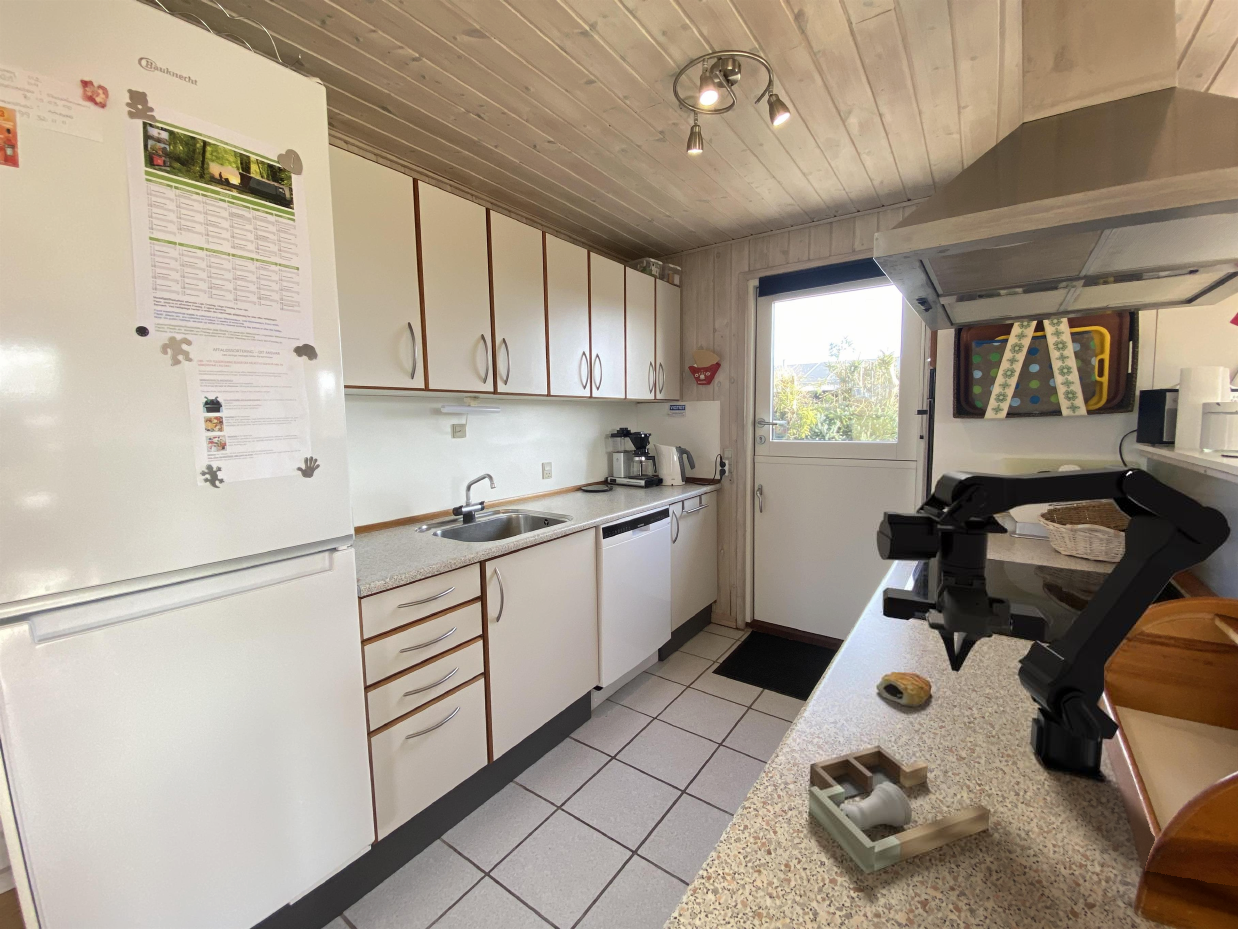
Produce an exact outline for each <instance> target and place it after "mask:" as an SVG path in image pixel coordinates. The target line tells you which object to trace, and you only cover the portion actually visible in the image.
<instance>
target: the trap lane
mask: <svg viewBox="0 0 1238 929" xmlns="http://www.w3.org/2000/svg"><path fill="white" fill-rule="evenodd" d="M928 767H929V766H928V764H926V763H925V762H923V760H918V761H915V762H912V763H909V764H904V763H903V762H901V760H899V759H898V758H896V757H895V756H894V755H893V754H891V753H890V752H889V751H888V750H886V749H885V748H883V747H882V746H880V744H879V745H875V746H871V747H867V748H863V749H860V750H857V751H854V752H853V751H852V752H849V753H847V754H842V755H839V756H835V757H832V758H828V759H824V760H821V761H816V762H814V763H810V767H809V780H810V782H811V783H812V784H813V785H814V786H811V787H809V789H808V791H809V792H808V812H809V813H810V814H811V816H813V817H814V818H815V820H816V821H817V822H818V823H819V824H820V825H821V826H822V827H823V828H824V830H825V831H827V833H829V835H830V836H831V837H832V838H833V839H834V840H835V842H836V843H838V845H839V846H840V847H841V848H842V849H843V850H844V851H845V853H846V854H848V856H849V857H851V859H852V860H853V861H854V862H855V863H856V865H858V867H859V868H860V869H861V870H862V871H863V872H864V873H865V874H866V875H868V874H871V873H874V872H876V871H879V870H881V869H883V868H886V867H889V866H891V865H895V864H897V863H899V862H902V861H905V860H908V859H910V858H913V857H916V856H918V855H921V854H924V853H926V852H929V851H931V850H933V849H937V848H939V847H942V846H944V845H948V844H949V843H952V842H955V841H958V840H961V839H963V838H966V837H969V836H972V835H974V834H977V833H980V832H982V831H984V830H987V829H989V824H990V810H989V809H988V808H987V807H986V806H984V805H983V804H978V805H976V806H973V807H970V808H967V809H964V810H961V811H958V812H955V813H953V814H950V815H947V816H944V817H941V818H939V819H936V820H933V821H930V822H927V823H925V824H921V825H919V826H916V827H913V828H910V829H908V830H904V831H902V832H899V833H896V834H894V835H890V836H888V837H885V838H883V839H879V840H876V841H873V842H872V840H871V839H870V838H869V837H868V836H867V835H866V833H864V832H863V831H862V830H860V829H859V828H858V827H857V826H856V825H855V824H854V823H853V822H852V821H851V820H850V819H849V818H848V817H847V816H846V815H845V814H844V813H843V812H842V811H841V810H840V809H839V807H840V805H841V804H843V803H844V804H846V803H845V800H846V799H849V798H853V797H855V796H858V795H863V794H865V793H870V792H871V793H872V792H873V791H874V789H875V787H876V786H877V785H880V784H882V783H883V782H887V781H888V782H890V783H892V784H894V785H895V784H897V783H900V784H901V785H903V786H904V787H905V788H910V787H913V786H917V785H919V784H922V783H926V782H927V781H928Z"/></svg>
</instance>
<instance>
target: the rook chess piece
mask: <svg viewBox="0 0 1238 929" xmlns="http://www.w3.org/2000/svg"><path fill="white" fill-rule="evenodd" d="M839 809H840V810H841V811H842V812H843V813H844V814H845V815H846V816H847V817H848V818H849V819H850V820H851V821H852V822H853V823H854V824H855V825H856V826H857V827H858V828H859V829H860V830H861V831H862V830H863V831H864V830H865V831H869V830H870V827H874V826H877V825H878V826H879V825H882V824H883V825H884V824H885V825H887V826H892V827H894V828H895V827H897V828H898V827H902V826H903V825H904V826H908V825H909V824H910V823H911V822H912V817H913V811H912V807H911V804H910V802H909V800H908V797H907V795H905V793H904V791H903V790H902V789H901V788H899V786H898V785H896V784H895V783H894V784H892V783H890V782H888V781H887V782H883V783H882V784H880V785H877V786H876V787H875V789H874V790H872V791H871V794H870V796H868V797H867V798H865V799H863V800H862V801H859V802H857V801H852V803H851V805H849V804H846V803H845V804H844V803H843V804H841V805H840V807H839Z"/></svg>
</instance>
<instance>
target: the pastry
mask: <svg viewBox="0 0 1238 929" xmlns="http://www.w3.org/2000/svg"><path fill="white" fill-rule="evenodd" d="M876 690H877V691H878V693H880V694H879V695H880V696H882V697H883V696H884V697H883V698H885V697H886V699H887V698H888V700H890V701H893V700H894V701H893V702H895V701H896V703H897V702H898V703H897V704H899V703H900V705H902V706H906V707H911V708H914V707H919V706H920V705H923V704H924V703H925V702H926V701H927V699H928V698H929V696H930V695H931V691H932V684H931V682H930V681H929V680H928V679H926V678H924V677H923V676H921V675H920V674H919V673H918V674H917V673H914V672H902V671H901V672H900V671H891V672H890V673H886V674H884V675H883V676H882V677H881V680H880V681H879V683H878V684H876Z"/></svg>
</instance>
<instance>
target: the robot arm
mask: <svg viewBox="0 0 1238 929" xmlns="http://www.w3.org/2000/svg"><path fill="white" fill-rule="evenodd" d="M1099 500H1110V501H1111V502H1112V504H1113V505H1114V507H1115V508H1116V509H1117V511H1119V512H1121V513H1122V514H1123V515H1124V516H1126V517H1127V518H1129V522H1128V523H1127V526H1126V528H1125V530H1124V553H1123V555H1122V557H1120V560H1119V561H1118V562H1117V564H1116V565H1115V566H1114V567H1113V568H1112V570H1111V571H1110V573H1109V574H1108V575H1107V577H1106V578H1105V579H1104V581H1103V582H1102V584H1101V585H1100V586H1099V587H1098V588H1097V590H1096V591H1095V593H1094V594H1093V595H1092V597H1091V599H1090V600H1089V601H1088V602H1087V603H1086V605H1085V607H1083V609H1082V610H1081V612H1080V613H1079V614H1078V616H1077V617H1076V619H1074V621H1073V623H1072V624H1071V625H1070V627H1069V628H1068V630H1067V631H1066V632H1065V634H1064V635H1063V636H1062V637H1061V638H1060V639H1058V640H1057V641H1055V642H1054V641H1053V642H1051V643H1050V644H1048V645H1047V644H1046V645H1045V644H1043V643H1042V642H1041V641H1043V642H1044V641H1045V642H1046V641H1048V640H1049V635H1050V626H1049V621H1048V620H1047V619H1046V618H1045V616H1044V615H1043V614H1042V613H1041V612H1040V610H1038V609H1037V608H1036V606H1034V605H1027V604H1020V603H1013V602H1010V599H1009V598H1006V597H1005V598H1003V597H995V596H991V595H989V594H988V591H987V561H988V550H989V548H988V547H989V534H997V535H999V534H1001V535H1002V534H1003V535H1006V534H1007V533H1008V532H1009V529H1008V528H1007V527H1005V525H1002V524H1001V523H1000V522H999V521H998V520H997V519H996V517H995V516H996V515H1001V514H1004V513H1007V512H1009V511H1011V510H1013V509H1015V508H1018V507H1019V508H1020V507H1024V506H1027V505H1041V504H1042V505H1044V504H1057V503H1058V504H1060V503H1071V502H1083V501H1085V502H1087V501H1099ZM945 510H946V511H945ZM882 518H883V519H882V520H881V521H880V523H879V525H878V530H876V548H877V551H878V554H879V557H880V558H881V560H884V561H899V562H900V561H903V562H904V561H905V562H925V563H928V562H929V561H931V559H936V568H935V569H936V571H935V583H934V584H935V587H934V600H932V599H931V600H930V599H923V598H916V597H915V594H914V591H913V590H911V589H910V590H909V589H902V588H894V587H886V588H885V589H883V591H882V598H881V599H882V601H881V605H882V616H884V617H886V618H889V619H890V618H891V619H895V620H896V619H897V620H901V621H902V620H904V621H910V620H911V619H913V618H914V617H916V613H920V614H925V618H926V621H927V626H928V628H929V629H931V630H935V631H937V632H938V634H939V636H940V638H941V640H942V643H943V645H944V649H945V651H946V655H947V658H948V664H949V666H950V669H951V672H956V673H957V672H958V673H959V672H960V670H961V668H962V667H963V664H964V663H965V662H966V659H967V658H968V656H969V654H970V652H971V651H972V650H973V648H974V646H975V645H976V644H977V642H979V641H981V640H982V639H983V638H986V639H987V638H988V639H991V638H993V636H994V633H993V631H992V630H991V627H992V628H998V629H1003V627H1004V628H1009V627H1010V630H1011V631H1012V632H1013V633H1014V634H1015V635H1016V636H1017V637H1018V638H1022V639H1023V638H1024V639H1029V640H1035V641H1034V642H1033V643H1032V644H1031V645H1030V647H1029V650H1028V651H1027V653H1026V655H1024V656H1023V657H1022V658H1020V659H1018V661H1017V662H1018V664H1020V666H1019V668H1018V671H1017V676H1018V679H1019V682H1020V684H1021V686H1022V688H1023V689H1024V691H1026V692H1027V693H1029V696H1030V699H1031V700H1032V702H1033V703H1035V704H1036V705H1037V706H1039V707H1037V710H1036V711H1037V713H1036V717H1032V718H1031V725H1030V726H1031V729H1030V742H1029V743H1030V746H1031V748H1032V750H1033V752H1034V754H1035V755H1036V756H1037V757H1038V759H1039V761H1040V763H1041V766H1042V767H1044V768H1045V769H1047V770H1050V771H1051V770H1053V771H1055V772H1060V773H1064V774H1068V775H1073V776H1075V777H1081V778H1085V779H1090V780H1094V781H1099V782H1103V783H1105V782H1106V781H1107V777H1106V776H1105V774H1104V773H1103V771H1102V769H1101V766H1102V755H1103V745H1104V744H1103V743H1104V740H1113V739H1114V737H1115V735H1116V734H1117V732H1118V730H1119V728H1120V725H1119V724H1118V723H1117V722H1116V721H1115V720H1114V719H1113V718H1111V716H1110V715H1108V714H1107V713H1106V711H1104V709H1102V708H1101V707H1100V706H1099V705H1098V704H1099V702H1100V700H1101V698H1102V696H1103V694H1104V693H1105V674H1106V671H1105V668H1106V665H1107V663H1108V661H1110V659H1111V658H1112V656H1113V654H1114V653H1115V652H1116V651H1117V650H1118V648H1119V647H1120V646H1121V644H1122V643H1123V642H1124V640H1125V639H1127V637H1128V636H1129V634H1130V632H1131V631H1132V630H1133V629H1134V627H1135V626H1136V625H1137V624H1138V622H1139V621H1140V620H1141V619H1142V617H1143V616H1144V615H1145V614H1146V612H1148V611H1147V610H1148V609H1149V608H1150V607H1151V605H1153V602H1154V601H1155V600H1156V599H1157V598H1158V596H1159V595H1160V594H1161V593H1162V591H1163V590H1164V588H1165V587H1166V585H1167V584H1168V583H1169V582H1170V581H1171V579H1172V578H1173V577H1175V575H1176V574H1178V573H1181V572H1182V571H1185V570H1188V569H1190V568H1193V567H1195V566H1197V565H1199V564H1202V563H1204V562H1206V561H1207V560H1208V559H1209V558H1210V557H1211V556H1212V555H1213V554H1214V553H1215V552H1217V551H1218V550H1219V549H1220V548H1221V547H1222V546H1223V545H1224V544H1225V543H1226V542H1228V539H1229V537H1230V535H1231V532H1232V527H1230V525H1229V523H1228V522H1229V521H1228V519H1227V518H1226V516H1225V515H1224V514H1223V513H1222V512H1221V511H1220V510H1218V509H1216V508H1214V507H1211V506H1208V505H1203V504H1201V503H1200V502H1198V501H1197V500H1196V499H1194V498H1192V497H1191V496H1188V495H1186V494H1185V493H1183V492H1181V491H1178V490H1177V489H1176V488H1173V487H1172V486H1169V485H1167V483H1164V482H1162V481H1161V480H1159V479H1158V478H1156V477H1155V476H1153V475H1152V474H1151V473H1150V472H1147V470H1145V469H1142V468H1139V467H1132V466H1123V465H1114V464H1113V465H1107V466H1104V467H1098V468H1097V467H1095V468H1084V469H1073V470H1060V471H1049V472H1035V473H1034V472H1033V473H1024V474H1023V473H1022V474H1009V475H1008V474H997V473H990V472H989V473H988V472H978V471H965V470H952V471H947V472H945V473H944V474H942V475H941V476H940V478H939V479H938V480H937V481H936V483H935V485H934V490H933V492H932V493H931V494H930V495H929V496H928V497H927V498H926V499H925V500H924V502H923V503H922V504H921V505H920V506H919V507H918V508H917V509H916V511H915V513H911V512H910V513H909V512H908V513H907V512H905V513H904V512H897V511H887V510H886V511H884V512H883V516H882ZM955 633H956V634H957V637H956V644H955Z"/></svg>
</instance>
